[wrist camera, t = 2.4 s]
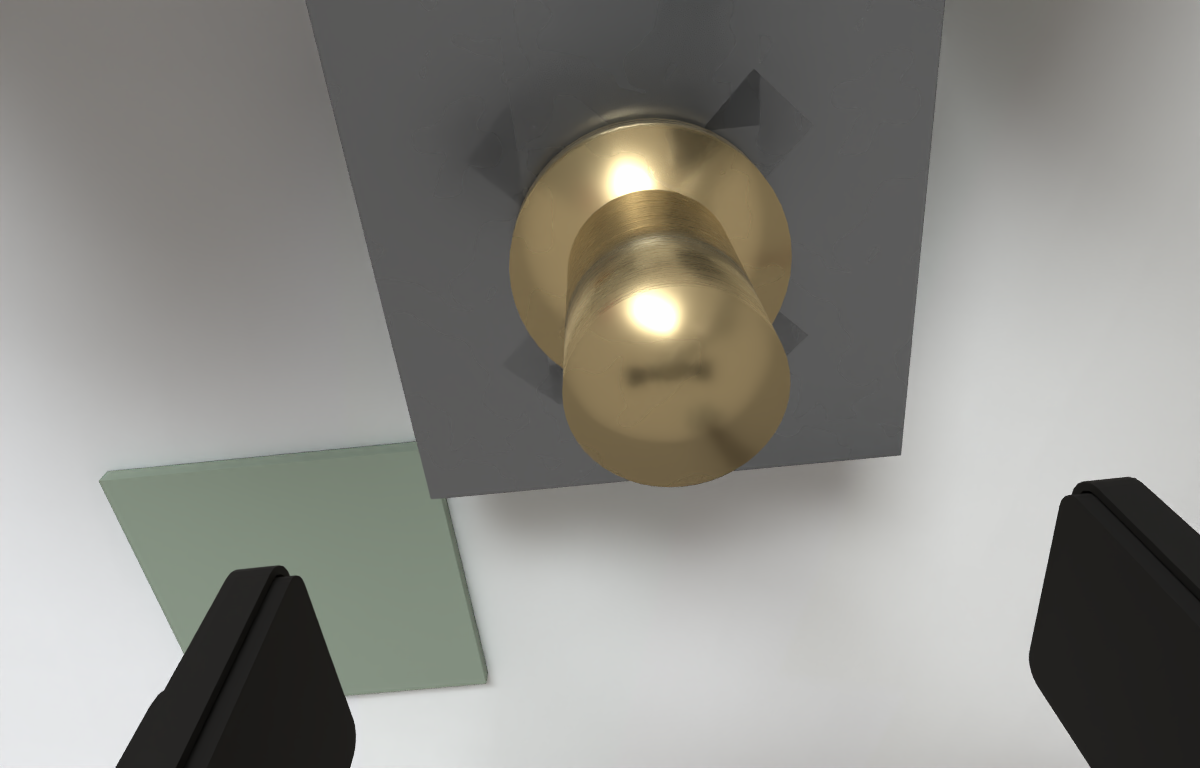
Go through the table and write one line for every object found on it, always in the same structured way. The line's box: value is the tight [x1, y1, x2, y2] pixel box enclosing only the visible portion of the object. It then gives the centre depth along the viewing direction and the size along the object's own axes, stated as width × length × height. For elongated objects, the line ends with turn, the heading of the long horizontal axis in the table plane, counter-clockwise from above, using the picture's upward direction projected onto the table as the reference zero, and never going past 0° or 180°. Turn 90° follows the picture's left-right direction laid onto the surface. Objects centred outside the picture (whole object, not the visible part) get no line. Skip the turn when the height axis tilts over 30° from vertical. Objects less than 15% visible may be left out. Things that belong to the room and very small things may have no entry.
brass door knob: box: [509, 118, 792, 487], centre depth 19 cm, size 7×7×12 cm
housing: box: [306, 0, 945, 499], centre depth 23 cm, size 14×14×5 cm
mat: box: [99, 442, 488, 696], centre depth 32 cm, size 12×12×1 cm
